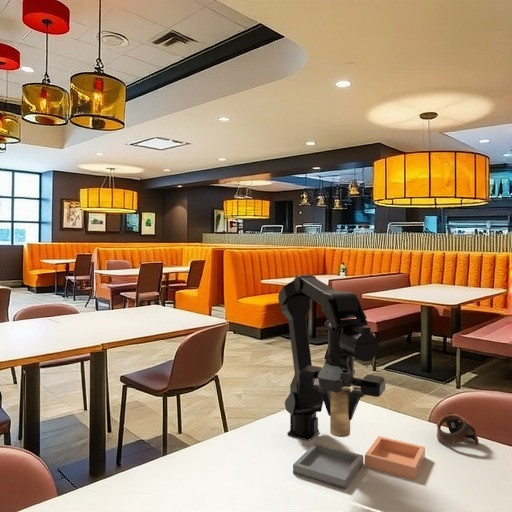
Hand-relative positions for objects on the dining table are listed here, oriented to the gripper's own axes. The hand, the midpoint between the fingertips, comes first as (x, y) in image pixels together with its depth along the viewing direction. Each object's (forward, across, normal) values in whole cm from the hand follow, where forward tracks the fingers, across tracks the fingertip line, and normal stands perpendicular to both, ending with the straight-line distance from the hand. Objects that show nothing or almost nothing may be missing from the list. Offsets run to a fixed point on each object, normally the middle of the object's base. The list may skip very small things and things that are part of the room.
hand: (340, 417), depth 100 cm
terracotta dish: (+12, +10, +9) cm, 18 cm away
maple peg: (+4, 0, 0) cm, 4 cm away
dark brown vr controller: (+12, +22, +28) cm, 37 cm away
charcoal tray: (+12, -2, -2) cm, 12 cm away
